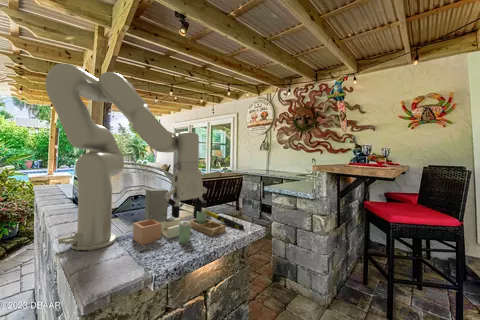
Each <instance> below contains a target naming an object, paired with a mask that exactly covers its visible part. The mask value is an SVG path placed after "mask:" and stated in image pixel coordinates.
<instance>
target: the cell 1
mask: <svg viewBox="0 0 480 320" xmlns="http://www.w3.org/2000/svg"><path fill="white" fill-rule="evenodd" d="M190 227H191V224H190V222H189V220H181V222H180V224H179V236H178V244H187V243H190V241H191V232H190ZM191 228H192V227H191Z"/></svg>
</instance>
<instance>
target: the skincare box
mask: <svg viewBox="0 0 480 320" xmlns="http://www.w3.org/2000/svg"><path fill="white" fill-rule="evenodd" d="M167 192H169V189H167V188H166V189H165V188H146V189H145V197H144V198H145V201H144V218H143V219H144V220H143V221H145V220H150V219H153V220H155V221H157V222H163V221H165V219H168V204H169V203H168V202H167V200H166V198H165V194H166V193H167Z"/></svg>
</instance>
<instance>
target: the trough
mask: <svg viewBox="0 0 480 320" xmlns="http://www.w3.org/2000/svg"><path fill="white" fill-rule="evenodd" d="M188 221H189V222H191V229H195V230H197V232H198V231H199V232H201V233H203V234H206V235H208V236H210V237H212V236H215V235H218V234H220V233H222V232H225V231H226V226H227V224H224V223H220V222H218V221H217V222H216V221H215V220H212V219H209V218H206V223H203V224H198V223H196V222H197V218H193V219H190V220H188Z"/></svg>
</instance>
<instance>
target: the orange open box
mask: <svg viewBox="0 0 480 320" xmlns="http://www.w3.org/2000/svg"><path fill="white" fill-rule="evenodd" d="M132 226H133V227H132V240H134V241H135V242H136V243H137V244H139V245H140V246H143V245H147V244H150V243H153V242H156V241H159V239H160V238H161V236H162V235H161V223H159V222H157V221H155V220H153V219H150V220H145V221H144V220H141V221H137V222H133V225H132Z"/></svg>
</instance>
